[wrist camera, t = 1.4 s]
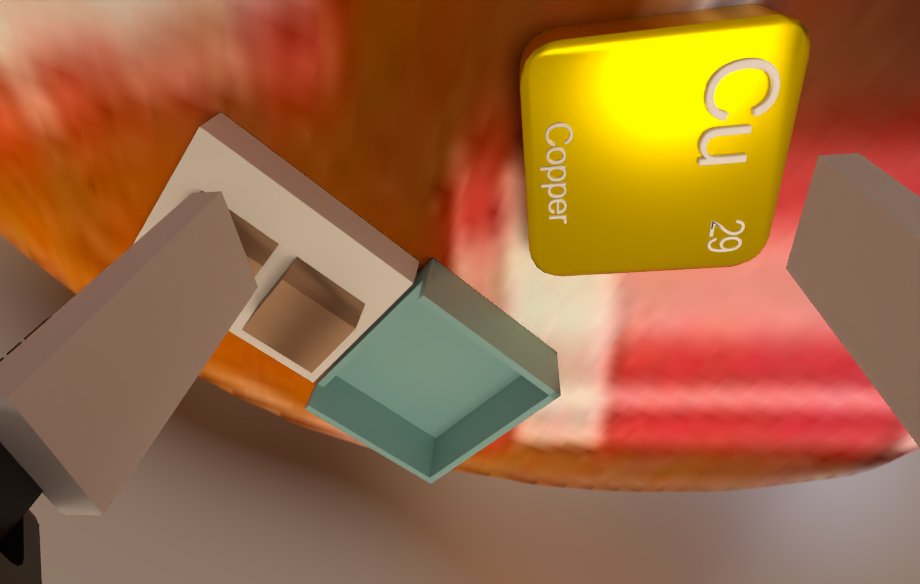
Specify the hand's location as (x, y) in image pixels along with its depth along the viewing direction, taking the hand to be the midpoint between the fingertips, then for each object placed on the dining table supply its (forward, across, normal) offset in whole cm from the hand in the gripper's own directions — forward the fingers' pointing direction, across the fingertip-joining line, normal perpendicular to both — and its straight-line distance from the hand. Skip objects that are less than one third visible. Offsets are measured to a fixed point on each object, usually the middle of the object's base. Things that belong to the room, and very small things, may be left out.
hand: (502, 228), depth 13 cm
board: (+24, -19, -14) cm, 33 cm away
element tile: (+24, +8, -7) cm, 27 cm away
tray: (+24, -8, -26) cm, 36 cm away
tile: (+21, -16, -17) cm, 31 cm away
